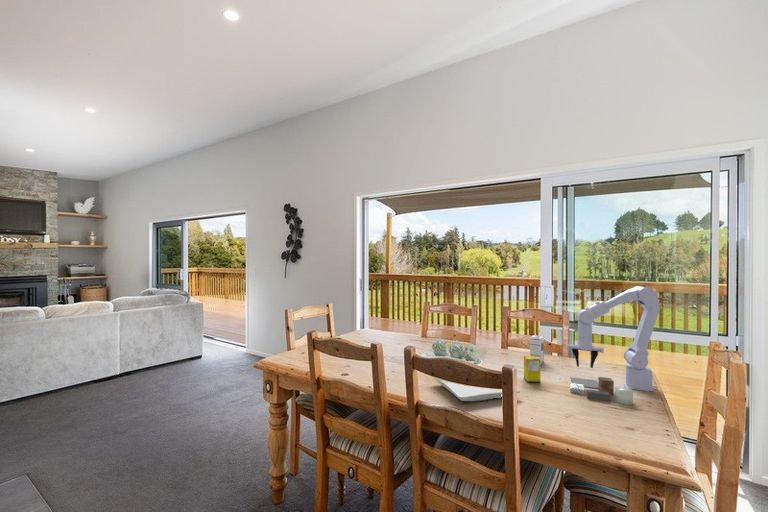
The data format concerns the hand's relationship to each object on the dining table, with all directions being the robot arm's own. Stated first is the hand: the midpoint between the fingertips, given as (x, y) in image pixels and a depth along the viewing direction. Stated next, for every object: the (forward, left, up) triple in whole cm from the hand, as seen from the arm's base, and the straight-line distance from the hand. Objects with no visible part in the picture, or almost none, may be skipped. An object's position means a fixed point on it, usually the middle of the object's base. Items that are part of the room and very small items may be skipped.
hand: (584, 366), depth 168 cm
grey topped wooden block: (+4, +11, -8) cm, 14 cm away
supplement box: (+22, +5, -8) cm, 24 cm away
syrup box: (+20, -25, -8) cm, 33 cm away
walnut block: (-7, +9, -8) cm, 14 cm away
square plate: (+45, +27, -8) cm, 53 cm away
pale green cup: (-12, +17, -8) cm, 22 cm away
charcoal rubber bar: (-3, +17, -8) cm, 19 cm away
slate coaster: (0, 0, -8) cm, 8 cm away
